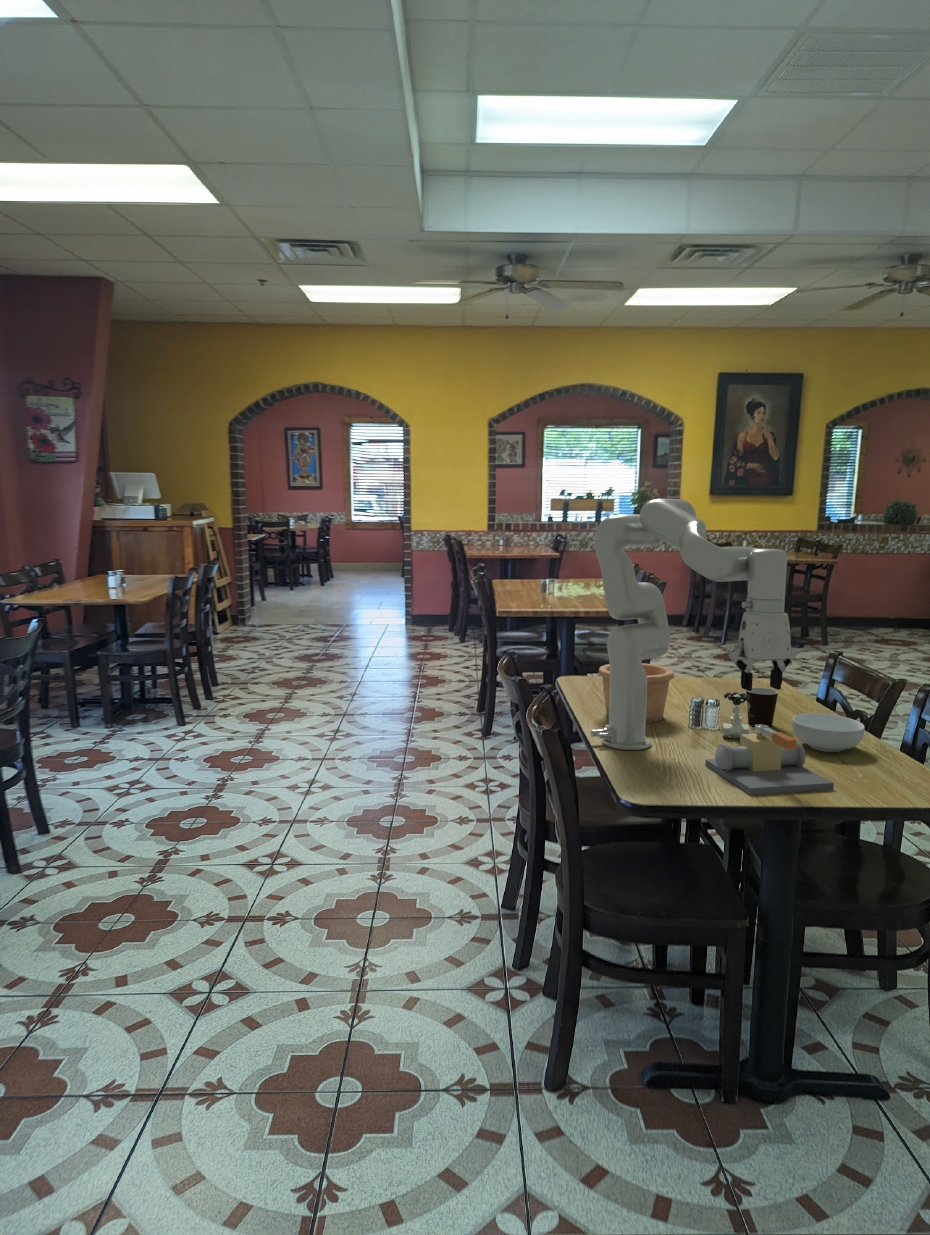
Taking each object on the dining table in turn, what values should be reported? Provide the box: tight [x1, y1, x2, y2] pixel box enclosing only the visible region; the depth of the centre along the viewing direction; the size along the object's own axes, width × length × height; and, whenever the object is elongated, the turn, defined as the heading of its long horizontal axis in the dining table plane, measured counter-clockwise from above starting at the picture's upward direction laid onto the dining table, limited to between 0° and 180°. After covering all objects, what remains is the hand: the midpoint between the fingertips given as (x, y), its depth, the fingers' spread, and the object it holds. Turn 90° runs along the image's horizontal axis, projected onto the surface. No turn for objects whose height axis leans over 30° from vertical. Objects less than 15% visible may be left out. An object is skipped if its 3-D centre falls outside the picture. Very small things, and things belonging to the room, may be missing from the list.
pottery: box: [598, 662, 675, 724], centre depth 229 cm, size 22×22×14 cm
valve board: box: [704, 733, 835, 796], centre depth 176 cm, size 20×20×9 cm
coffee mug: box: [745, 687, 779, 729], centre depth 221 cm, size 12×9×10 cm
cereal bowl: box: [791, 712, 866, 753], centre depth 199 cm, size 17×17×7 cm
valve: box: [721, 691, 750, 739], centre depth 207 cm, size 7×7×12 cm
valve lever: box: [754, 724, 798, 749], centre depth 173 cm, size 14×3×2 cm, turn 10°
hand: (761, 688), depth 166 cm, fingers open, 6 cm apart
